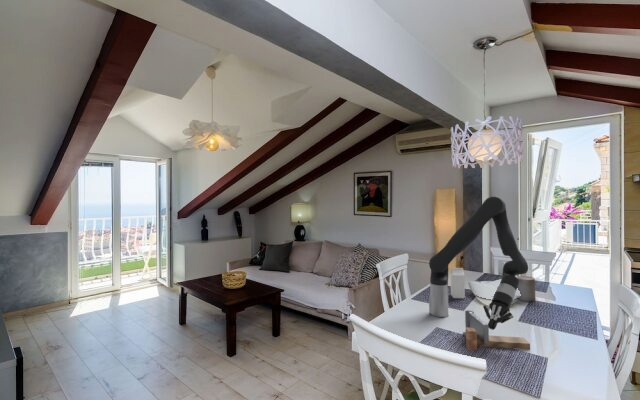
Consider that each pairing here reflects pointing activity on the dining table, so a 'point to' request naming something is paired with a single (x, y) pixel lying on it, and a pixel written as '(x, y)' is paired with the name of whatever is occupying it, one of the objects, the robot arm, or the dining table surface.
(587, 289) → the dining table surface
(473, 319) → the bar
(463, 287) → the milk carton
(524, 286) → the pillar candle
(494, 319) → the robot arm
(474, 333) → the door edge
